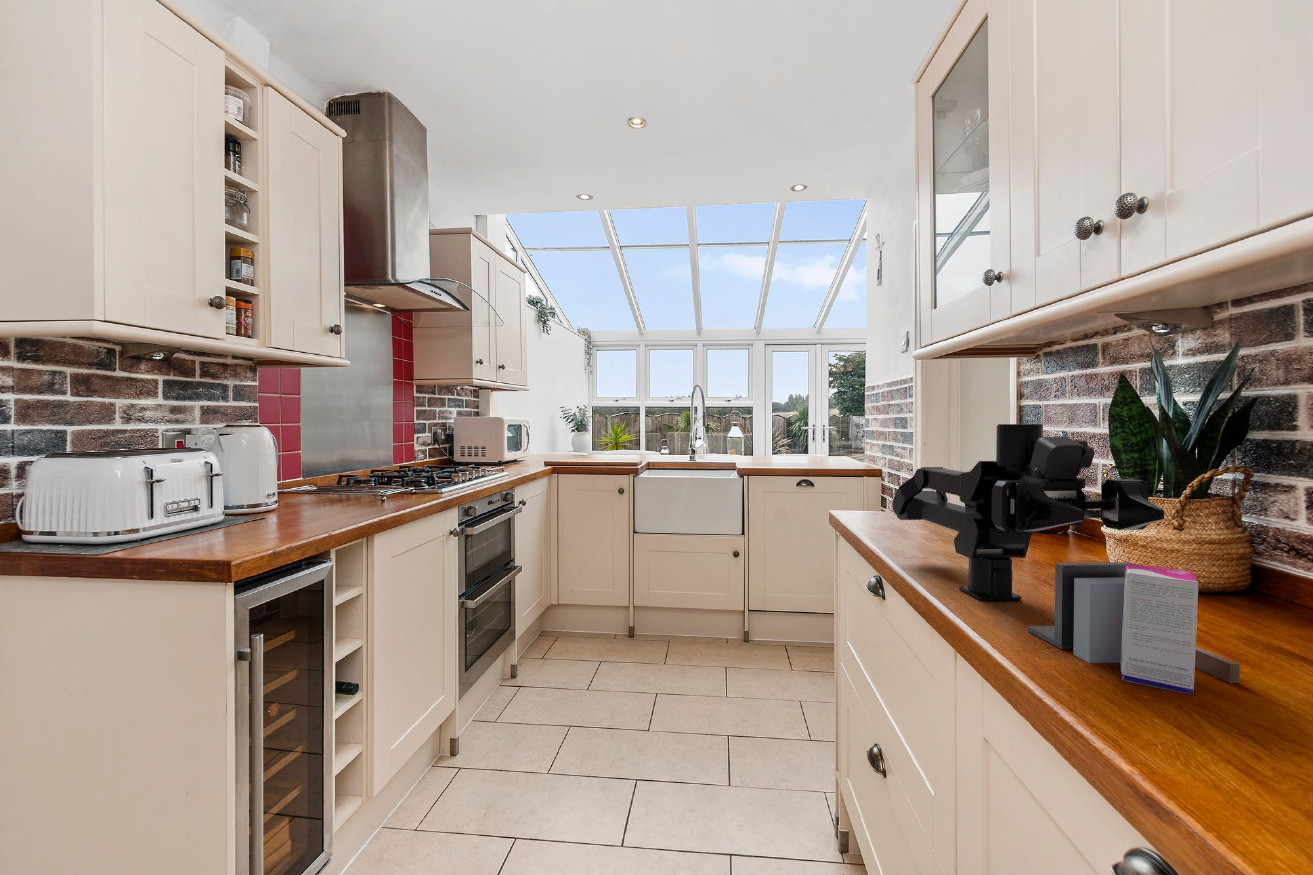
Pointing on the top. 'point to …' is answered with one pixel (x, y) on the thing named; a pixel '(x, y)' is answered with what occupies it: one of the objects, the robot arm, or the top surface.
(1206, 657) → the rail
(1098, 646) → the book
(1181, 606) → the supplement box
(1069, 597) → the bookend
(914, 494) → the robot arm
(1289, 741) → the top surface
